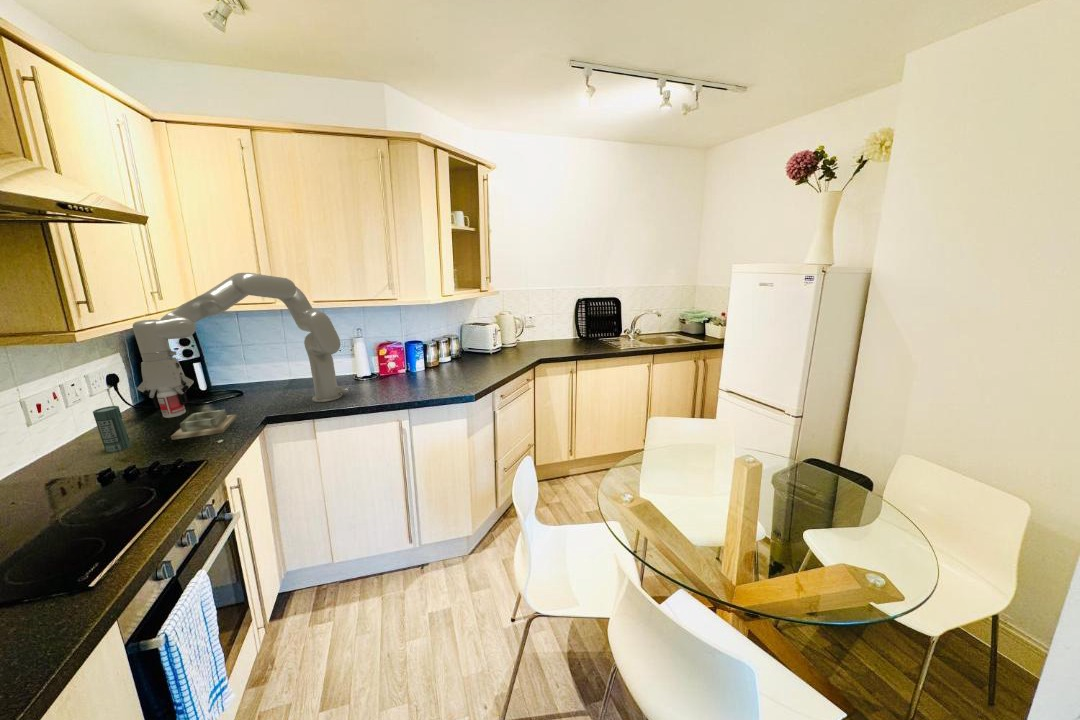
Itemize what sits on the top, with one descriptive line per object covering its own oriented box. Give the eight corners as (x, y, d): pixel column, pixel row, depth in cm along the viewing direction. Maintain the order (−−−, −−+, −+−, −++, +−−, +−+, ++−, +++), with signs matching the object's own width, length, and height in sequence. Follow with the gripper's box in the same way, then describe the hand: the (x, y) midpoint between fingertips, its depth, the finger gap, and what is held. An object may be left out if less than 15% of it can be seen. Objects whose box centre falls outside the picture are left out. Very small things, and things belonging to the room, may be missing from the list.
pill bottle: (189, 410, 148) (180, 381, 145) (181, 416, 143) (173, 386, 140) (168, 413, 146) (159, 383, 143) (159, 419, 141) (150, 389, 138)
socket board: (237, 417, 171) (234, 406, 169) (223, 432, 156) (220, 420, 155) (190, 423, 166) (187, 412, 164) (171, 439, 151) (168, 427, 150)
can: (133, 443, 149) (122, 404, 145) (124, 450, 143) (112, 410, 140) (112, 446, 147) (99, 407, 143) (102, 453, 141) (88, 413, 138)
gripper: (192, 350, 145) (205, 398, 150) (131, 356, 139) (146, 405, 144) (183, 355, 138) (197, 405, 143) (118, 362, 133) (135, 413, 138)
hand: (171, 405), depth 144 cm, fingers closed on pill bottle, 6 cm apart
